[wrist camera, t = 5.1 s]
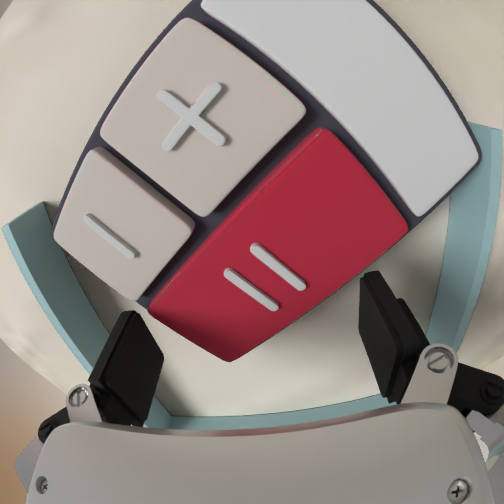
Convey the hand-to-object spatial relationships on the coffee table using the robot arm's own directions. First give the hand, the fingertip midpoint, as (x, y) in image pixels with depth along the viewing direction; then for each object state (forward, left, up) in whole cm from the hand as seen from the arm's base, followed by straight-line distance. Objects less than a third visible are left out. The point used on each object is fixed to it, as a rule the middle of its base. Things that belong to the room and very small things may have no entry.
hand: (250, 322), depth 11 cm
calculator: (-1, -6, -4) cm, 7 cm away
